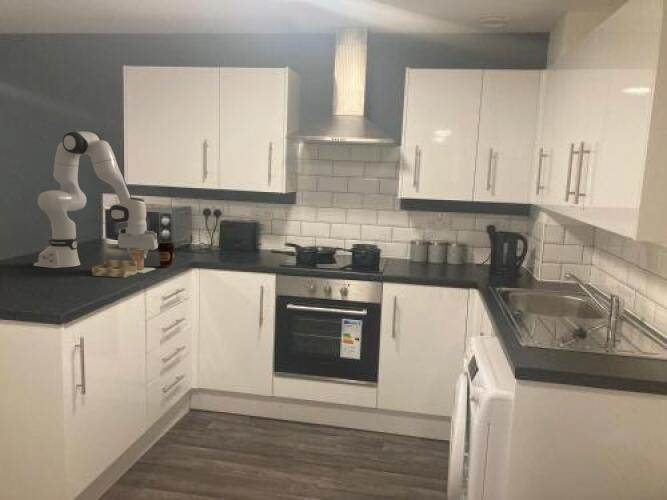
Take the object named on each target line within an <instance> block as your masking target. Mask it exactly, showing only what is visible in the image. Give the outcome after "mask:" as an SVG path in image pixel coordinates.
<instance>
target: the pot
mask: <svg viewBox="0 0 667 500" xmlns="http://www.w3.org/2000/svg"><path fill="white" fill-rule="evenodd" d="M131 253H132V257H131V261H137V270H141V269H144V268H145V263H144V262H145V260H144V259H145V258H142V255H143V254H144V249H132V250H131Z"/></svg>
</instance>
